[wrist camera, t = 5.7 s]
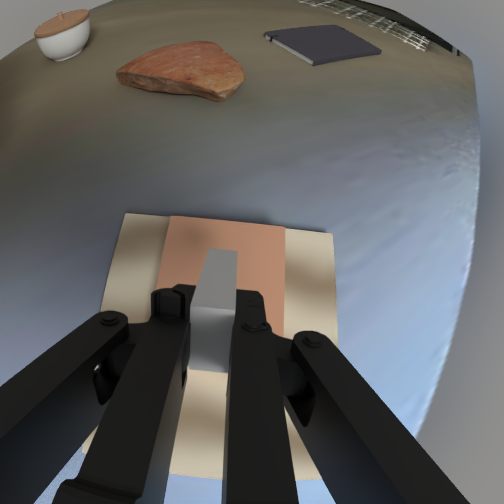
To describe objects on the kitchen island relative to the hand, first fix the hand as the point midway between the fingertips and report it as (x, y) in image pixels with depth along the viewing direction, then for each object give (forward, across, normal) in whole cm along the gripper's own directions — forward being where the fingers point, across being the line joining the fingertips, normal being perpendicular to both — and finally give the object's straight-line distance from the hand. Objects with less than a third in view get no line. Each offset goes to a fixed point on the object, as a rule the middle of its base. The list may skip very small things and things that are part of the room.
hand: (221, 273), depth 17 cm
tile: (+5, 0, -3) cm, 6 cm away
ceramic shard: (+27, -9, +15) cm, 32 cm away
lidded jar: (+36, -35, +25) cm, 56 cm away
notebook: (+43, +13, +30) cm, 54 cm away
